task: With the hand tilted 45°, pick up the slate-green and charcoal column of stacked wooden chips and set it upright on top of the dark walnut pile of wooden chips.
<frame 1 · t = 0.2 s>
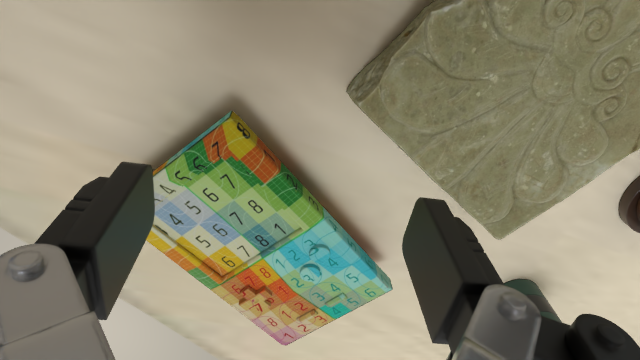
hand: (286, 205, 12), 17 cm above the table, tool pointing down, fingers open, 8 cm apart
puzzle game: (266, 222, 34), on the table
decorative tile: (526, 71, 28), on the table
chip column: (514, 295, 41), on the table
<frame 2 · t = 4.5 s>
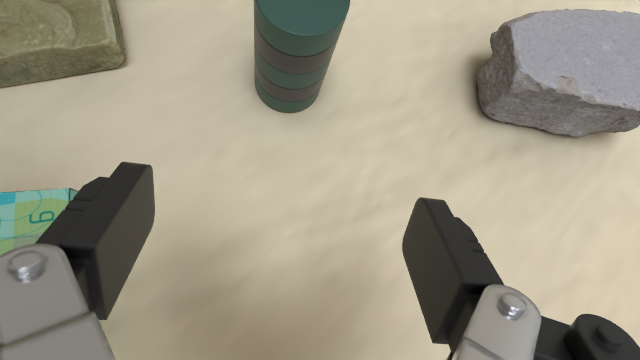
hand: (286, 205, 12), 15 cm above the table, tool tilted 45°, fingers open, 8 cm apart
decorative stone: (545, 98, 33), on the table
chip column: (287, 82, 29), on the table
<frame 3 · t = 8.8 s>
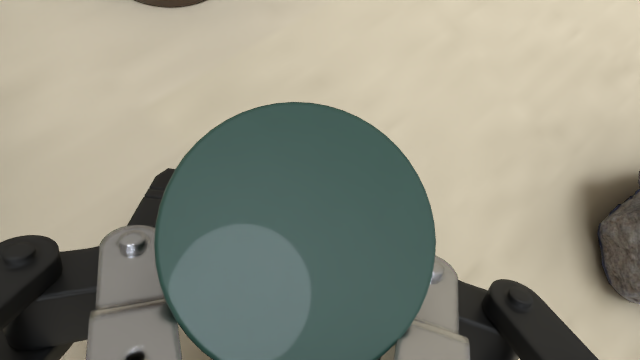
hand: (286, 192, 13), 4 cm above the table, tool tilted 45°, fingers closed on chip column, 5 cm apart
chip column: (275, 256, 16), on the table, touching gripper
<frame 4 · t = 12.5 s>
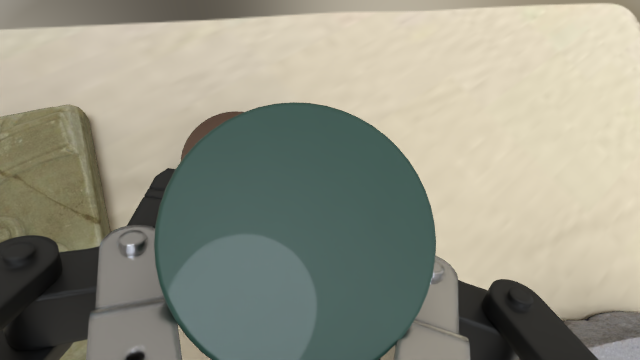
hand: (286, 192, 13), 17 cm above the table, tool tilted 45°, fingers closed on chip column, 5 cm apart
chip pile: (240, 176, 30), on the table
chip column: (275, 256, 16), point 13 cm above the table, touching gripper
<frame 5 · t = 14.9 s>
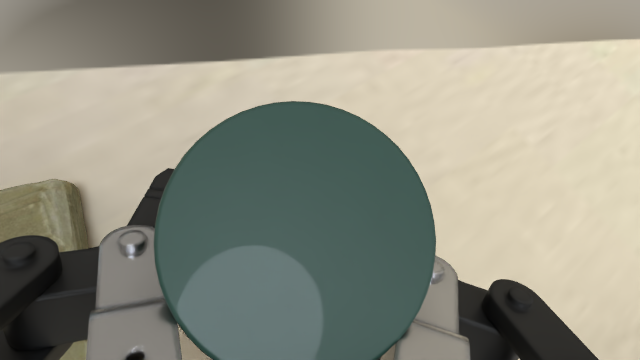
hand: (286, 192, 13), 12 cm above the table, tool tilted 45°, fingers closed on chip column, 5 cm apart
chip column: (275, 256, 16), point 8 cm above the table, touching gripper
when the fingers open (8 cm above the table, at t = 16.6 s): chip column stays where it is, resting on chip pile.
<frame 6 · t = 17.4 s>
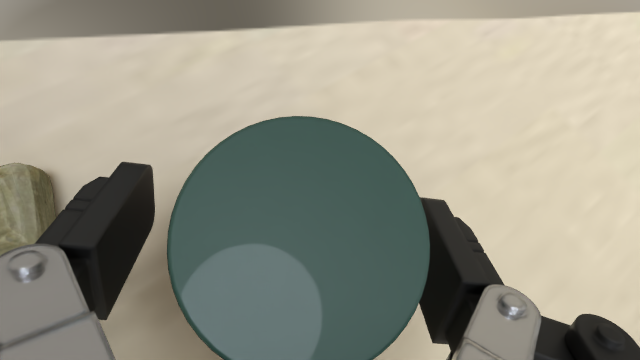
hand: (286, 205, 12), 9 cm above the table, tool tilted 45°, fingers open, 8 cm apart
chip column: (277, 258, 17), point 4 cm above the table, touching chip pile
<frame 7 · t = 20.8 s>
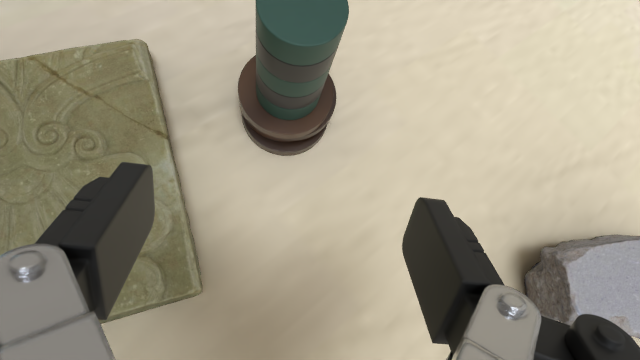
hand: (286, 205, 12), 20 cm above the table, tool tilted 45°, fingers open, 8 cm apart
chip pile: (283, 110, 34), on the table
decorative stone: (587, 286, 35), on the table
decorative tile: (51, 196, 30), on the table
chip column: (288, 90, 30), point 4 cm above the table, touching chip pile
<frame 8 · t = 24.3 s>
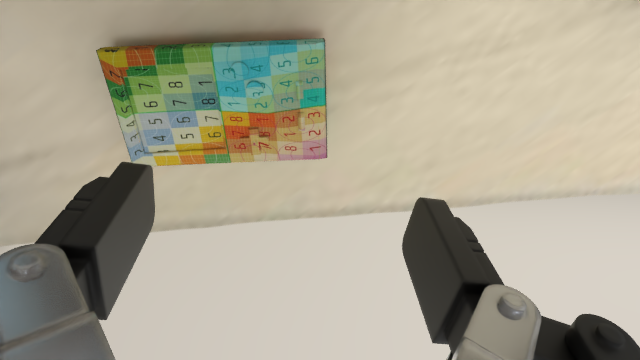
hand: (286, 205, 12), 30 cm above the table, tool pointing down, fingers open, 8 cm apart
puzzle game: (228, 94, 41), on the table
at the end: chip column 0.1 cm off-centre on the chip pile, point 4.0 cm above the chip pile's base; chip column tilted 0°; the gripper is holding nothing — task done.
